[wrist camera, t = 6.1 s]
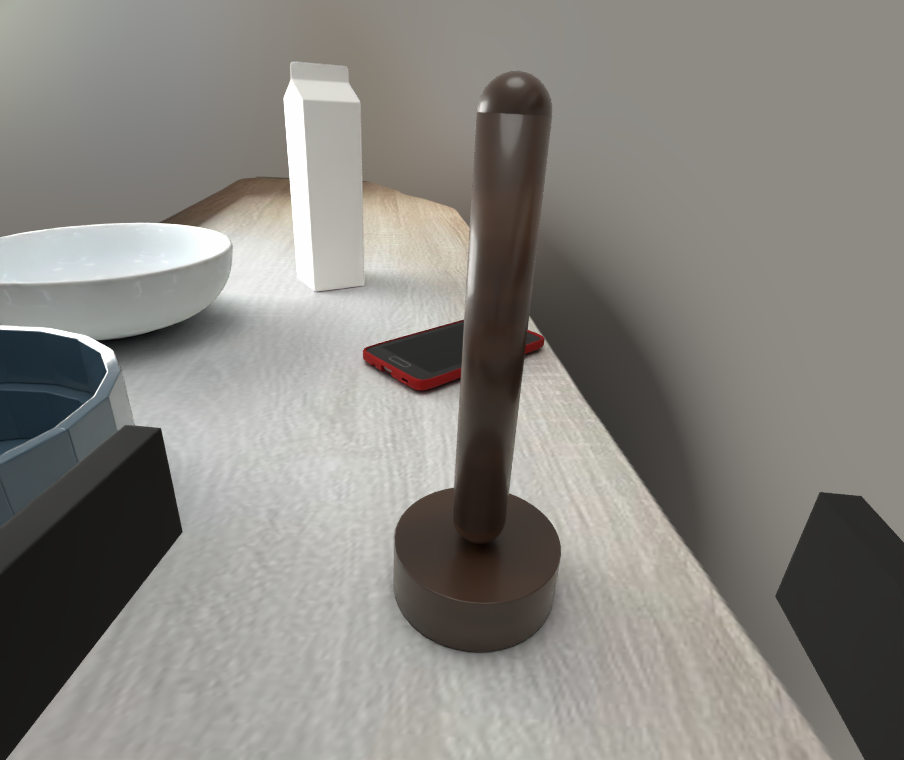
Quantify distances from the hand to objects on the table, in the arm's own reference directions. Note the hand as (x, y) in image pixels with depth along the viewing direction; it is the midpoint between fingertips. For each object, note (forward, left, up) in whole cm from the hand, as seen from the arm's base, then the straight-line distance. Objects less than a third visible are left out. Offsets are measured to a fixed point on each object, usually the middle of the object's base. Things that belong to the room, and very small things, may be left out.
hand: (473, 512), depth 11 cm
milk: (+55, -3, -11) cm, 56 cm away
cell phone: (+32, -11, -11) cm, 36 cm away
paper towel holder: (+8, -4, -11) cm, 14 cm away
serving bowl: (+45, +17, -11) cm, 50 cm away
